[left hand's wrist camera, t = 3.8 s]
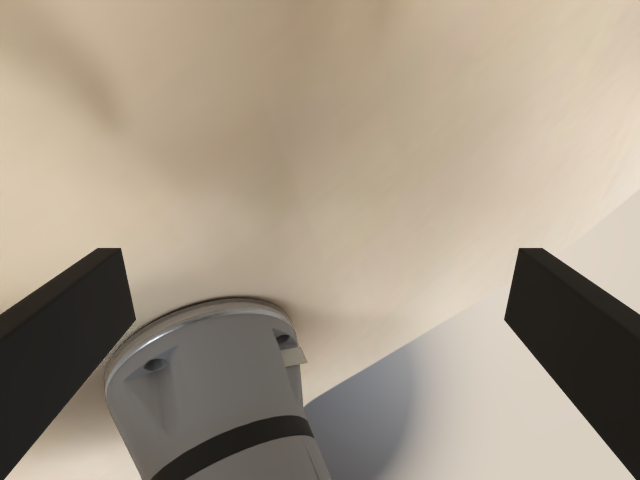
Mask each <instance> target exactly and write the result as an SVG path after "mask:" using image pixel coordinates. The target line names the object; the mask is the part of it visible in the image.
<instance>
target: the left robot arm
mask: <svg viewBox="0 0 640 480" xmlns="http://www.w3.org/2000/svg"><path fill="white" fill-rule="evenodd" d="M135 320H136V318H135V313H134V308H133V303H132V299H131V294H130V289H129V284H128V280H127V275H126V270H125V265H124V261H123V256H122V251H121V248H97V249H96V250H94V251H93V252H91V253H90V254H88V255H87V256H85V257H84V258H82V259H81V260H80V261H78V262H77V263H75V264H74V265H72V266H71V267H69V268H68V269H66V270H65V271H63V272H62V273H61V274H59V275H58V276H56V277H55V278H53V279H52V280H50V281H49V282H47V283H46V284H44V285H43V286H41V287H40V288H39V289H37V290H36V291H34V292H33V293H31V294H30V295H28V296H27V297H25V298H24V299H22V300H21V301H20V302H18V303H17V304H15V305H14V306H12V307H11V308H9V309H8V310H6V311H5V312H3V313H2V314H0V480H4V479H5V478H6V477H7V475H8V474H9V473H10V472H11V471H12V469H13V468H14V467H15V466H16V464H17V463H18V462H19V461H20V460H21V458H22V457H23V456H24V455H25V454H26V452H27V451H28V450H29V449H30V447H31V446H32V445H33V444H34V443H35V441H36V440H37V439H38V438H39V437H40V435H41V434H42V433H43V432H44V431H45V429H46V428H47V427H48V426H49V424H50V423H51V422H52V421H53V420H54V418H55V417H56V416H57V415H58V414H59V412H60V411H61V410H62V409H63V407H64V406H65V405H66V404H67V403H68V401H69V400H70V399H71V398H72V397H73V395H74V394H75V393H76V392H77V390H78V389H79V388H80V387H81V386H82V384H83V383H84V382H85V381H86V380H87V378H88V377H89V376H90V375H91V373H92V372H93V371H94V370H95V369H96V367H97V366H98V365H99V364H100V363H101V361H102V360H103V359H104V358H105V357H106V355H107V354H108V353H109V352H110V350H111V349H112V348H113V347H114V346H115V344H116V343H117V342H118V341H119V340H120V338H121V337H122V336H123V335H124V333H125V332H126V331H127V330H128V329H129V327H130V326H131V325H132V324H133V323H134V321H135ZM504 320H505V321H506V322H507V324H508V325H509V326H510V327H511V329H512V330H513V331H514V332H515V333H516V335H517V336H518V337H519V338H520V340H521V341H522V342H523V343H524V344H525V346H526V347H527V348H528V349H529V350H530V352H531V353H532V354H533V355H534V357H535V358H536V359H537V360H538V361H539V363H540V364H541V365H542V366H543V367H544V369H545V370H546V371H547V372H548V373H549V375H550V376H551V377H552V378H553V379H554V381H555V382H556V383H557V384H558V386H559V387H560V388H561V389H562V390H563V392H564V393H565V394H566V395H567V397H568V398H569V399H570V400H571V401H572V403H573V404H574V405H575V406H576V407H577V409H578V410H579V411H580V412H581V414H582V415H583V416H584V417H585V418H586V420H587V421H588V422H589V423H590V424H591V426H592V427H593V428H594V429H595V431H596V432H597V433H598V434H599V435H600V437H601V438H602V439H603V440H604V441H605V443H606V444H607V445H608V446H609V447H610V449H611V450H612V451H613V452H614V454H615V455H616V456H617V457H618V458H619V460H620V461H621V462H622V463H623V464H624V466H625V467H626V468H627V469H628V470H629V472H630V473H631V474H632V475H633V476H634V478H635V479H636V480H640V314H638V313H637V312H635V311H634V310H632V309H631V308H629V307H628V306H626V305H625V304H623V303H622V302H620V301H619V300H618V299H616V298H615V297H613V296H612V295H610V294H609V293H607V292H606V291H604V290H603V289H601V288H600V287H599V286H597V285H596V284H594V283H593V282H591V281H590V280H588V279H587V278H585V277H584V276H582V275H581V274H579V273H578V272H577V271H575V270H574V269H572V268H571V267H569V266H568V265H566V264H565V263H563V262H562V261H560V260H559V259H558V258H556V257H555V256H553V255H552V254H550V253H549V252H547V251H546V250H544V249H543V248H519V251H518V256H517V261H516V265H515V270H514V275H513V280H512V284H511V289H510V294H509V299H508V303H507V308H506V313H505V318H504ZM303 363H307V360H306V358H305V356H304V354H303V352H302V349H301V347H298V342H297V338H296V334H295V331H294V329H293V326H292V324H291V322H290V320H289V318H288V316H287V315H286V313H285V312H284V311H283V310H282V309H280V308H279V307H277V306H276V305H273V304H271V303H268V302H265V301H261V300H256V299H245V298H235V299H222V300H216V301H210V302H205V303H201V304H197V305H194V306H190V307H187V308H184V309H181V310H178V311H176V312H173V313H171V314H168V315H166V316H164V317H162V318H160V319H158V320H156V321H154V322H152V323H151V324H149V325H147V326H146V327H144V328H142V329H141V330H139V331H138V332H137V333H135V334H134V335H132V336H131V337H130V338H129V339H128V340H126V341H125V342H124V343H123V344H122V345H121V346H120V347H119V348H118V349H117V351H116V352H115V353H114V354H113V356H112V357H111V359H110V360H109V362H108V365H107V367H106V370H105V377H104V380H105V397H106V402H107V405H108V409H109V412H110V414H111V416H112V418H113V420H114V422H115V424H116V426H117V428H118V431H119V433H120V435H121V437H122V439H123V441H124V443H125V445H126V447H127V449H128V451H129V453H130V455H131V457H132V459H133V461H134V463H135V465H136V467H137V469H138V471H139V473H140V476H141V478H142V480H331V477H330V475H329V473H328V470H327V468H326V465H325V463H324V460H323V458H322V455H321V453H320V450H319V448H318V446H317V443H316V441H315V439H314V436H313V434H312V431H311V429H310V426H309V424H308V421H307V418H306V416H305V413H304V409H303V398H302V386H301V374H300V364H303Z"/></svg>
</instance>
